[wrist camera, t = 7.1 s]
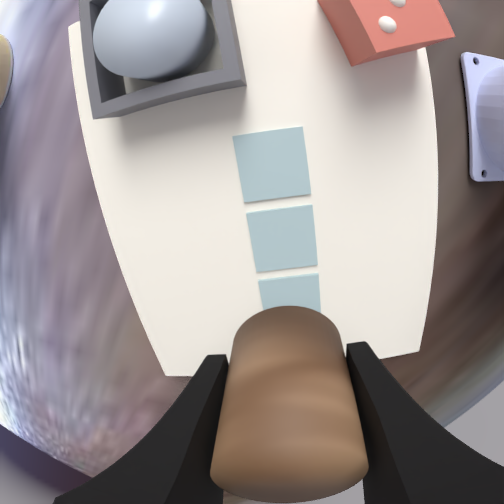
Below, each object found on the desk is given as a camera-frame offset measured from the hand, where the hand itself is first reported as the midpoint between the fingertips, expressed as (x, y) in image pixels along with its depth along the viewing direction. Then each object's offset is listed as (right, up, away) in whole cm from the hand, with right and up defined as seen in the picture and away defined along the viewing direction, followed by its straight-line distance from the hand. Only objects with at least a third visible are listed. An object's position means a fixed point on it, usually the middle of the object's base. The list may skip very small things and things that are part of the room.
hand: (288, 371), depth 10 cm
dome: (-5, +14, +2) cm, 15 cm away
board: (0, +7, +7) cm, 10 cm away
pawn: (0, +1, +1) cm, 1 cm away
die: (+5, +15, +2) cm, 16 cm away
